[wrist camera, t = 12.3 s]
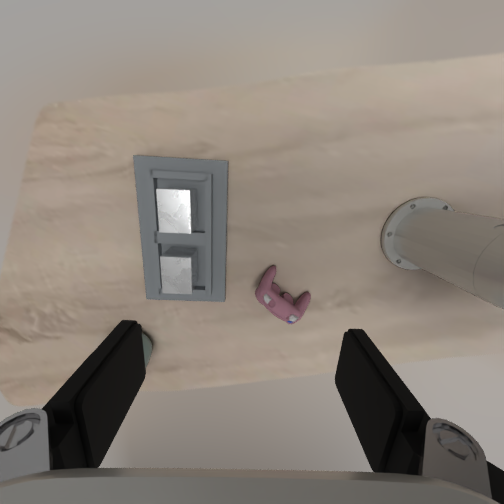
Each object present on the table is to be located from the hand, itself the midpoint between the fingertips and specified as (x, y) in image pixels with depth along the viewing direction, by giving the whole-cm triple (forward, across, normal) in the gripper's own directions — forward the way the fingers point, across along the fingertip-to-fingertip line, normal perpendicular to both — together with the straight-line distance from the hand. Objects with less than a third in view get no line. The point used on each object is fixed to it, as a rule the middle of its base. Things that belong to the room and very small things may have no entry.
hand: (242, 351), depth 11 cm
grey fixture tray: (+30, +10, +2) cm, 32 cm away
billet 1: (+29, +10, -3) cm, 31 cm away
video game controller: (+30, -7, +12) cm, 33 cm away
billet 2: (+29, +10, +7) cm, 31 cm away
